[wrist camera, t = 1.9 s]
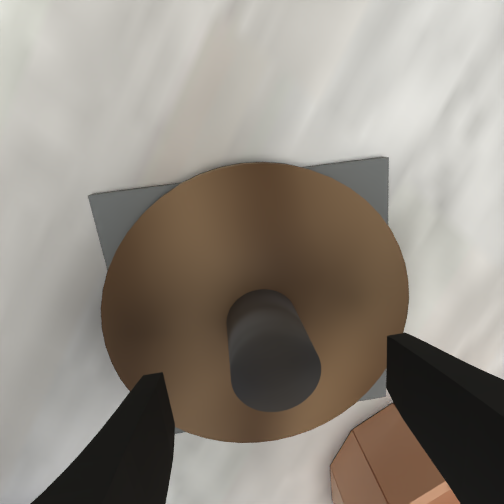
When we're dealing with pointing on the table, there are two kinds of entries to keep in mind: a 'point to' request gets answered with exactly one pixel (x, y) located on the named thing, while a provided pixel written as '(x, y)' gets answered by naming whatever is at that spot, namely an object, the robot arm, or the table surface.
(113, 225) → the mat
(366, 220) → the lid
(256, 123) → the table surface
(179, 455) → the table surface
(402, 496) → the bowl
